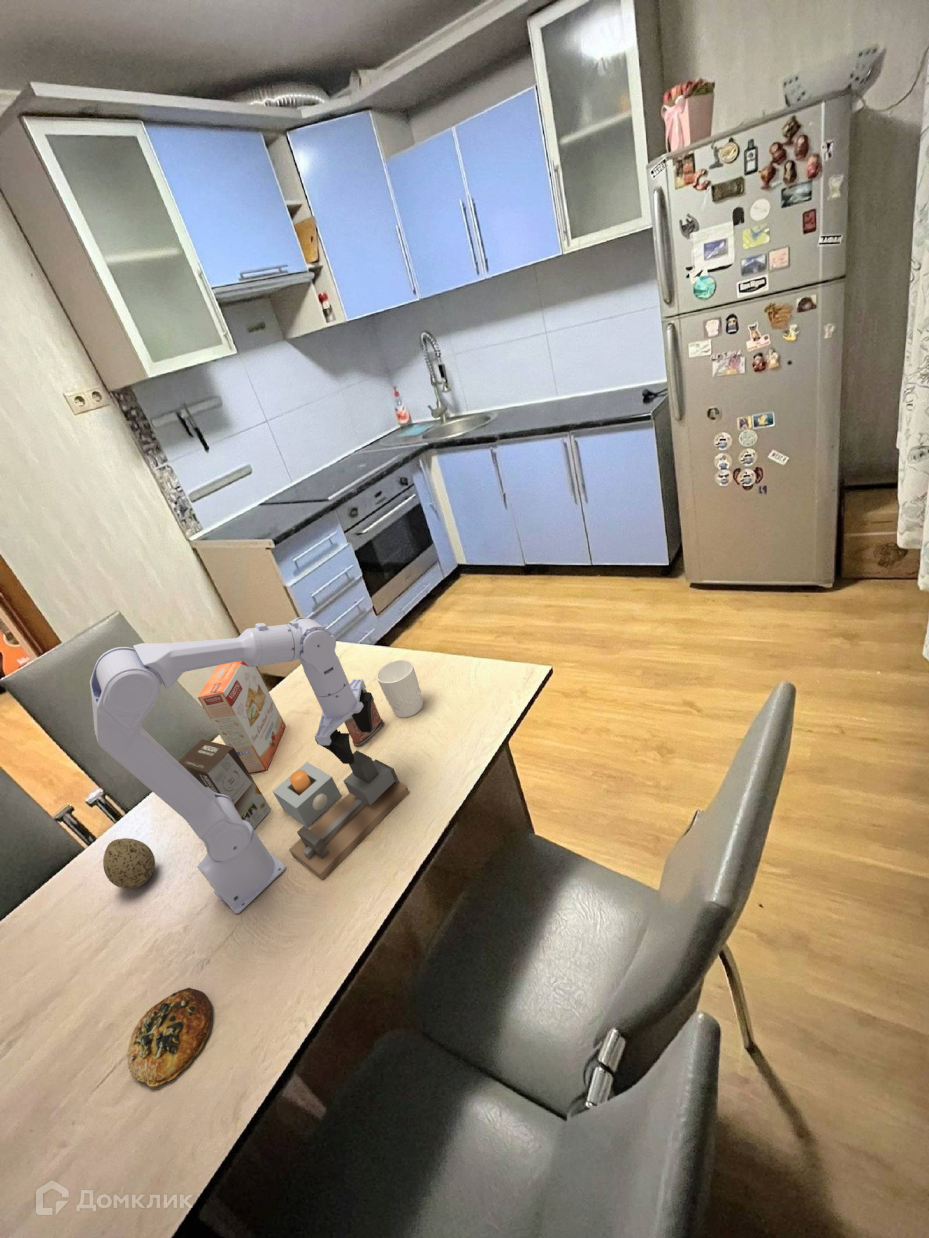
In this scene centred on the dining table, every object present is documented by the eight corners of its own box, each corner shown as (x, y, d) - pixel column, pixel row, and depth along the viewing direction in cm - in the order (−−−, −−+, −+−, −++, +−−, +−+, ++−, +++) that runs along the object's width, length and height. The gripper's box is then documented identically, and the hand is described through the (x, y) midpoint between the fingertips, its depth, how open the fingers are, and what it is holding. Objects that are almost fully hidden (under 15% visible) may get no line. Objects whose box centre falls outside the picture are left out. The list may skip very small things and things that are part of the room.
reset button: (305, 802, 102) (295, 785, 100) (296, 796, 104) (286, 778, 102) (318, 790, 104) (308, 773, 102) (309, 784, 106) (299, 767, 104)
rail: (323, 880, 90) (311, 860, 88) (292, 855, 96) (280, 835, 94) (409, 792, 102) (401, 772, 99) (377, 774, 108) (368, 755, 105)
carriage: (370, 805, 97) (356, 776, 94) (349, 792, 101) (335, 764, 98) (395, 781, 101) (382, 752, 97) (373, 769, 105) (360, 741, 101)
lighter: (361, 749, 115) (344, 712, 110) (350, 744, 117) (332, 707, 112) (387, 723, 120) (372, 686, 115) (376, 719, 122) (361, 683, 117)
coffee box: (273, 808, 107) (235, 746, 99) (248, 836, 102) (207, 773, 94) (240, 798, 111) (202, 738, 104) (216, 824, 107) (173, 763, 99)
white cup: (385, 719, 121) (370, 683, 116) (399, 695, 128) (385, 659, 123) (418, 720, 118) (404, 682, 114) (431, 695, 125) (418, 658, 120)
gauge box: (307, 827, 100) (297, 808, 98) (283, 809, 106) (272, 791, 103) (342, 795, 105) (332, 777, 103) (316, 780, 110) (306, 761, 108)
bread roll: (226, 984, 79) (207, 970, 76) (203, 1084, 71) (180, 1073, 68) (155, 999, 81) (132, 986, 78) (123, 1099, 72) (97, 1089, 69)
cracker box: (269, 770, 116) (223, 691, 106) (242, 775, 117) (193, 697, 107) (288, 724, 128) (248, 649, 118) (263, 729, 129) (222, 655, 119)
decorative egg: (168, 876, 99) (138, 839, 94) (126, 906, 95) (93, 869, 91) (158, 854, 104) (128, 817, 99) (118, 882, 101) (85, 846, 96)
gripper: (331, 715, 86) (360, 778, 93) (369, 658, 98) (393, 718, 104) (292, 715, 89) (324, 776, 95) (334, 659, 100) (360, 717, 107)
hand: (358, 746), depth 100 cm, fingers open, 7 cm apart
